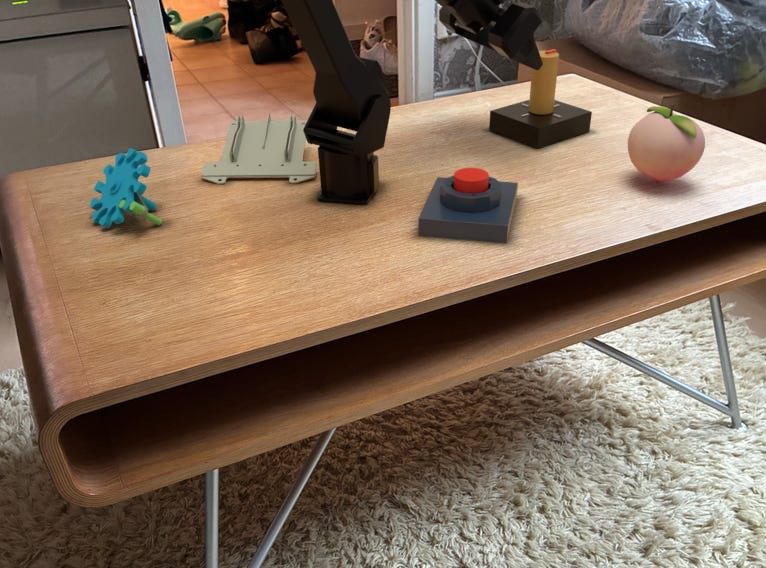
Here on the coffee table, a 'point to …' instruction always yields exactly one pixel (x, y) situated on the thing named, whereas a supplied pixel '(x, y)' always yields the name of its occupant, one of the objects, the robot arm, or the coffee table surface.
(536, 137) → the dark brown square base
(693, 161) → the decorative fruit
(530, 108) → the yellow cylinder
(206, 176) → the metal bracket
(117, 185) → the gear
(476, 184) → the release button
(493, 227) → the block
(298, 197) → the coffee table surface
